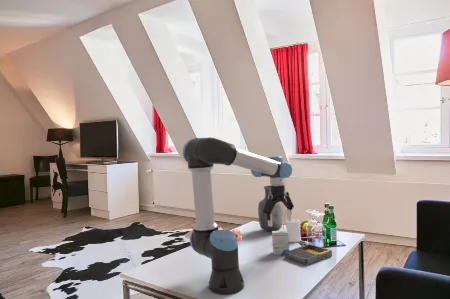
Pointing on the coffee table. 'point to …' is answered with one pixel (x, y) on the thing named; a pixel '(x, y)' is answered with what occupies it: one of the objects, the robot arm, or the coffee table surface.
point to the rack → (308, 254)
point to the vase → (276, 213)
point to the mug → (293, 230)
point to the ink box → (280, 242)
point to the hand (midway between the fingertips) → (279, 223)
